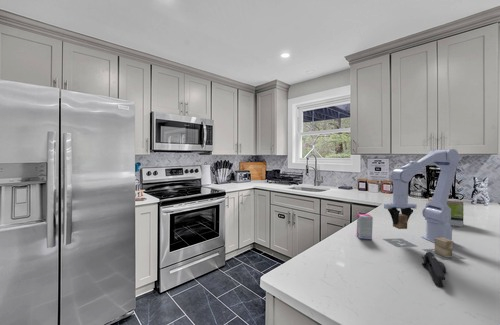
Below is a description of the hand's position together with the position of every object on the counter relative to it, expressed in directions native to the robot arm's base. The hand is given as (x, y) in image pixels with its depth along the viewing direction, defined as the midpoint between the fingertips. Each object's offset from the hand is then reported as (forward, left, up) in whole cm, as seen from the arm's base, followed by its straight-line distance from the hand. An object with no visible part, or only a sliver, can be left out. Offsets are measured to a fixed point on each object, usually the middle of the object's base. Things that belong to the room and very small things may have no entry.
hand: (399, 223), depth 105 cm
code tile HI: (-9, +13, -9) cm, 18 cm away
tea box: (-51, -28, -9) cm, 59 cm away
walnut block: (0, 0, -2) cm, 2 cm away
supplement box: (+13, -7, -9) cm, 17 cm away
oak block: (-9, +13, -9) cm, 18 cm away
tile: (0, 0, -9) cm, 9 cm away
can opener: (+9, +28, -9) cm, 31 cm away
